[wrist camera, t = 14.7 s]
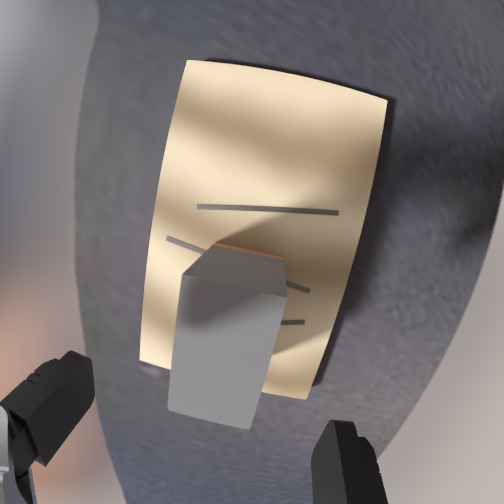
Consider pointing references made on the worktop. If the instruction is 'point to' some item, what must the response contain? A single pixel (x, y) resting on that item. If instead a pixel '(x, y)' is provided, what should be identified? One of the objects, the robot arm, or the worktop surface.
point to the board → (263, 200)
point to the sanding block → (226, 333)
